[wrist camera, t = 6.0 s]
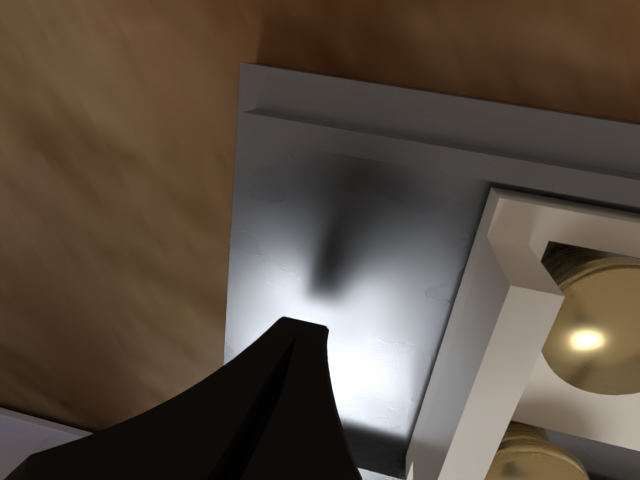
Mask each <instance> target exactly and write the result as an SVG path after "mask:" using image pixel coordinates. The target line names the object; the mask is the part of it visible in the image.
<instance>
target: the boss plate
mask: <svg viewBox="0 0 640 480" xmlns="http://www.w3.org/2000/svg"><path fill="white" fill-rule="evenodd" d="M491 187H494V188H500V189H505V190H511V191H517V192H522V193H528V194H533V195H539V196H544V197H550V198H555V199H561V200H567V201H572V202H578V203H583V204H589V205H594V206H600V207H605V208H611V209H617V210H622V211H628V212H633V213H639V214H640V123H636V122H629V121H623V120H616V119H610V118H604V117H597V116H591V115H584V114H578V113H572V112H565V111H559V110H553V109H546V108H540V107H533V106H527V105H521V104H514V103H508V102H502V101H495V100H489V99H482V98H476V97H470V96H463V95H457V94H450V93H444V92H438V91H431V90H425V89H419V88H412V87H406V86H399V85H393V84H387V83H380V82H374V81H367V80H361V79H355V78H348V77H342V76H336V75H329V74H323V73H316V72H310V71H304V70H297V69H291V68H285V67H278V66H272V65H265V64H259V63H240V76H239V95H238V113H237V131H236V149H235V167H234V185H233V204H232V222H231V240H230V258H229V276H228V294H227V313H226V331H225V349H224V365H225V364H226V363H228V362H229V361H231V360H232V359H233V358H235V357H236V356H237V355H238V354H240V353H241V352H242V351H243V350H244V349H246V348H247V347H248V346H249V345H251V344H252V343H253V342H254V341H255V340H257V339H258V338H259V337H260V336H261V335H262V334H263V333H264V332H265V331H267V330H268V329H269V328H270V327H271V326H272V325H273V324H274V323H275V322H276V321H277V320H278V319H279V318H281V317H283V316H285V317H290V318H294V319H299V320H303V321H307V322H312V323H316V324H321V325H325V326H327V328H328V329H329V335H328V341H327V351H328V364H329V371H330V377H331V384H332V389H333V393H334V398H335V402H336V406H337V410H338V414H339V417H340V421H341V424H342V427H343V430H344V433H345V436H346V439H347V442H348V445H349V447H350V450H351V453H352V456H353V458H354V460H355V463H356V465H357V467H358V470H359V472H360V474H361V476H362V479H363V480H406V454H407V451H408V448H409V445H410V441H411V438H412V435H413V432H414V429H415V426H416V422H417V419H418V416H419V413H420V410H421V407H422V404H423V400H424V397H425V394H426V391H427V388H428V385H429V382H430V378H431V375H432V372H433V369H434V366H435V363H436V359H437V356H438V353H439V350H440V347H441V344H442V341H443V337H444V334H445V331H446V328H447V325H448V322H449V319H450V315H451V312H452V309H453V306H454V303H455V300H456V297H457V293H458V290H459V287H460V284H461V281H462V278H463V274H464V271H465V268H466V265H467V262H468V259H469V256H470V252H471V249H472V246H473V243H474V240H475V237H476V234H477V230H478V227H479V224H480V221H481V218H482V215H483V212H484V208H485V205H486V202H487V199H488V196H489V193H490V189H491ZM540 262H541V263H542V264H543V266H544V267H545V269H546V270H547V271H548V273H549V274H550V276H551V277H552V279H553V280H554V281H555V283H556V284H557V286H558V287H559V289H560V290H561V291H562V293H563V294H564V296H565V298H564V300H563V302H562V305H561V307H560V309H559V311H558V314H557V316H556V318H555V320H554V323H553V325H552V327H551V329H550V332H549V334H548V336H547V339H546V341H545V343H544V345H543V348H542V350H541V352H542V354H543V356H544V358H545V360H546V362H547V364H548V366H549V367H550V368H551V369H552V371H553V372H554V373H555V374H556V375H557V376H558V377H559V378H561V379H562V380H563V381H565V382H566V383H568V384H570V385H572V386H574V387H576V388H578V389H581V390H584V391H587V392H591V393H596V394H602V395H627V394H634V393H640V258H637V257H632V256H627V255H621V254H616V253H611V252H606V251H601V250H595V249H590V248H585V247H580V246H574V245H569V244H564V243H559V242H553V241H548V244H547V246H546V249H545V251H544V254H543V256H542V259H541V261H540ZM484 480H640V451H637V450H633V449H629V448H624V447H620V446H616V445H612V444H608V443H604V442H599V441H595V440H591V439H587V438H583V437H579V436H575V435H570V434H566V433H562V432H558V431H554V430H550V429H546V428H541V427H537V426H533V425H529V424H525V423H521V422H517V421H512V420H510V422H509V424H508V427H507V429H506V431H505V434H504V436H503V438H502V440H501V443H500V445H499V447H498V449H497V452H496V454H495V456H494V458H493V461H492V463H491V465H490V467H489V470H488V472H487V474H486V477H485V479H484Z"/></svg>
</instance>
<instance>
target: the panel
mask: <svg viewBox="0 0 640 480" xmlns="http://www.w3.org/2000/svg"><path fill="white" fill-rule="evenodd" d="M548 241H553V242H559V243H564V244H569V245H574V246H580V247H585V248H590V249H595V250H601V251H606V252H611V253H616V254H621V255H627V256H632V257H637V258H640V214H639V213H633V212H628V211H622V210H617V209H611V208H605V207H600V206H594V205H589V204H583V203H578V202H572V201H567V200H561V199H555V198H550V197H544V196H539V195H533V194H528V193H522V192H517V191H511V190H505V189H500V188H494V187H491V189H490V193H489V196H488V199H487V202H486V205H485V208H484V212H483V215H482V218H481V221H480V224H479V227H478V230H477V234H476V237H475V240H474V243H473V246H472V249H471V252H470V256H469V259H468V262H467V265H466V268H465V271H464V274H463V278H462V281H461V284H460V287H459V290H458V293H457V297H456V300H455V303H454V306H453V309H452V312H451V315H450V319H449V322H448V325H447V328H446V331H445V334H444V337H443V341H442V344H441V347H440V350H439V353H438V356H437V359H436V363H435V366H434V369H433V372H432V375H431V378H430V382H429V385H428V388H427V391H426V394H425V397H424V400H423V404H422V407H421V410H420V413H419V416H418V419H417V422H416V426H415V429H414V432H413V435H412V438H411V441H410V445H409V448H408V451H407V454H406V480H484V479H485V477H486V474H487V472H488V470H489V467H490V465H491V463H492V461H493V458H494V456H495V454H496V452H497V449H498V447H499V445H500V443H501V440H502V438H503V436H504V434H505V431H506V429H507V427H508V424H509V422H510V420H512V421H517V422H521V423H525V424H529V425H533V426H537V427H541V428H546V429H550V430H554V431H558V432H562V433H566V434H570V435H575V436H579V437H583V438H587V439H591V440H595V441H599V442H604V443H608V444H612V445H616V446H620V447H624V448H629V449H633V450H637V451H640V393H634V394H627V395H602V394H596V393H591V392H587V391H584V390H581V389H578V388H576V387H574V386H572V385H570V384H568V383H566V382H565V381H563V380H562V379H561V378H559V377H558V376H557V375H556V374H555V373H554V372H553V371H552V369H551V368H550V367H549V366H548V364H547V362H546V360H545V358H544V356H543V354H542V352H541V350H542V348H543V345H544V343H545V341H546V339H547V336H548V334H549V332H550V329H551V327H552V325H553V323H554V320H555V318H556V316H557V314H558V311H559V309H560V307H561V305H562V302H563V300H564V298H565V296H564V294H563V293H562V291H561V290H560V289H559V287H558V286H557V284H556V283H555V281H554V280H553V279H552V277H551V276H550V274H549V273H548V271H547V270H546V269H545V267H544V266H543V264H542V263H541V262H540V261H541V259H542V256H543V254H544V251H545V249H546V246H547V244H548Z"/></svg>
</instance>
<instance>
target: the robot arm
mask: <svg viewBox="0 0 640 480" xmlns="http://www.w3.org/2000/svg"><path fill="white" fill-rule="evenodd" d="M328 335H329V329H328V328H327V326H325V325H321V324H316V323H312V322H307V321H303V320H299V319H294V318H290V317H285V316H283V317H281V318H279V319H278V320H277V321H276V322H275V323H274V324H273V325H272V326H271V327H270V328H269V329H268V330H267V331H265V332H264V333H263V334H262V335H261V336H260V337H259V338H258V339H257V340H255V341H254V342H253V343H252V344H251V345H249V346H248V347H247V348H246V349H244V350H243V351H242V352H241V353H240V354H238V355H237V356H236V357H235V358H233V359H232V360H231V361H229V362H228V363H226V364H225V365H224V366H222V367H221V368H219V369H218V370H217V371H215V372H214V373H213V374H211V375H210V376H208V377H207V378H205V379H204V380H202V381H200V382H199V383H197V384H196V385H194V386H192V387H191V388H189V389H187V390H186V391H184V392H182V393H181V394H179V395H177V396H175V397H173V398H171V399H170V400H168V401H166V402H164V403H162V404H160V405H158V406H156V407H154V408H152V409H150V410H148V411H146V412H144V413H142V414H140V415H138V416H135V417H133V418H131V419H128V420H126V421H124V422H122V423H119V424H117V425H114V426H112V427H109V428H107V429H104V430H102V431H99V432H96V433H91V432H87V431H84V430H80V429H76V428H73V427H69V426H66V425H62V424H58V423H55V422H51V421H47V420H44V419H40V418H36V417H33V416H29V415H26V414H22V413H18V412H15V411H11V410H7V409H4V408H0V480H363V479H362V476H361V474H360V472H359V470H358V467H357V465H356V463H355V460H354V458H353V456H352V453H351V450H350V447H349V445H348V442H347V439H346V436H345V433H344V430H343V427H342V424H341V421H340V417H339V414H338V410H337V406H336V402H335V398H334V393H333V389H332V384H331V377H330V371H329V364H328V351H327V341H328Z"/></svg>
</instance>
